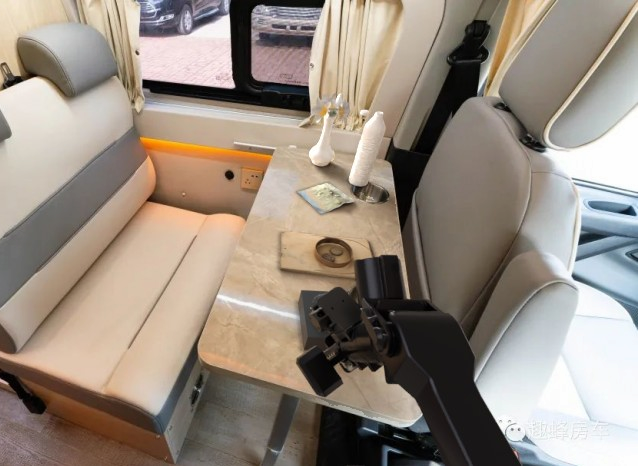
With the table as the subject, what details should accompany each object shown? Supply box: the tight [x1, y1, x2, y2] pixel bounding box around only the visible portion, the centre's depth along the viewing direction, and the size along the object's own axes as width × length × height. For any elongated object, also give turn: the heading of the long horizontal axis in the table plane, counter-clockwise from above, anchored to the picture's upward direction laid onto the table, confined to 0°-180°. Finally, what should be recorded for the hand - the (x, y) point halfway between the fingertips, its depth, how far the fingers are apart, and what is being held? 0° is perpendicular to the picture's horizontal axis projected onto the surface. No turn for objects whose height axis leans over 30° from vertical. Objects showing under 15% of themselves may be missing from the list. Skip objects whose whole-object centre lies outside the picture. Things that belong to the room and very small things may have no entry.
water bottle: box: [348, 109, 387, 187], centre depth 108 cm, size 9×6×25 cm
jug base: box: [297, 289, 333, 352], centre depth 71 cm, size 12×10×7 cm
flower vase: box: [309, 93, 351, 167], centre depth 119 cm, size 13×18×25 cm
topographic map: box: [297, 182, 355, 215], centre depth 109 cm, size 14×14×2 cm
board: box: [279, 230, 374, 280], centre depth 89 cm, size 25×15×3 cm, turn 82°
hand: (338, 344), depth 57 cm, fingers closed
